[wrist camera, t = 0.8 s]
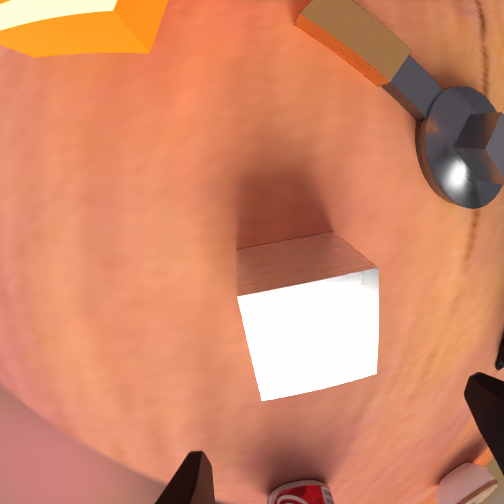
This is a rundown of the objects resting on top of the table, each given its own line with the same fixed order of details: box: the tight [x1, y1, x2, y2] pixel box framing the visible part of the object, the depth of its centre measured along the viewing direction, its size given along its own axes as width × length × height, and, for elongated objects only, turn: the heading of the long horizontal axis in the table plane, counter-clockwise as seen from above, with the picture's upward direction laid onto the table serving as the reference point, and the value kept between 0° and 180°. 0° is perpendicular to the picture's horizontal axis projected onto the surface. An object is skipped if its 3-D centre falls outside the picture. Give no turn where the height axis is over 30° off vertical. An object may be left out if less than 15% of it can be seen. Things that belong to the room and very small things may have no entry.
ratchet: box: [294, 0, 504, 209], centre depth 13 cm, size 17×8×4 cm, turn 55°
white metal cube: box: [236, 231, 379, 401], centre depth 15 cm, size 6×6×6 cm
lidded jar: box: [436, 463, 498, 504], centre depth 26 cm, size 11×11×9 cm
